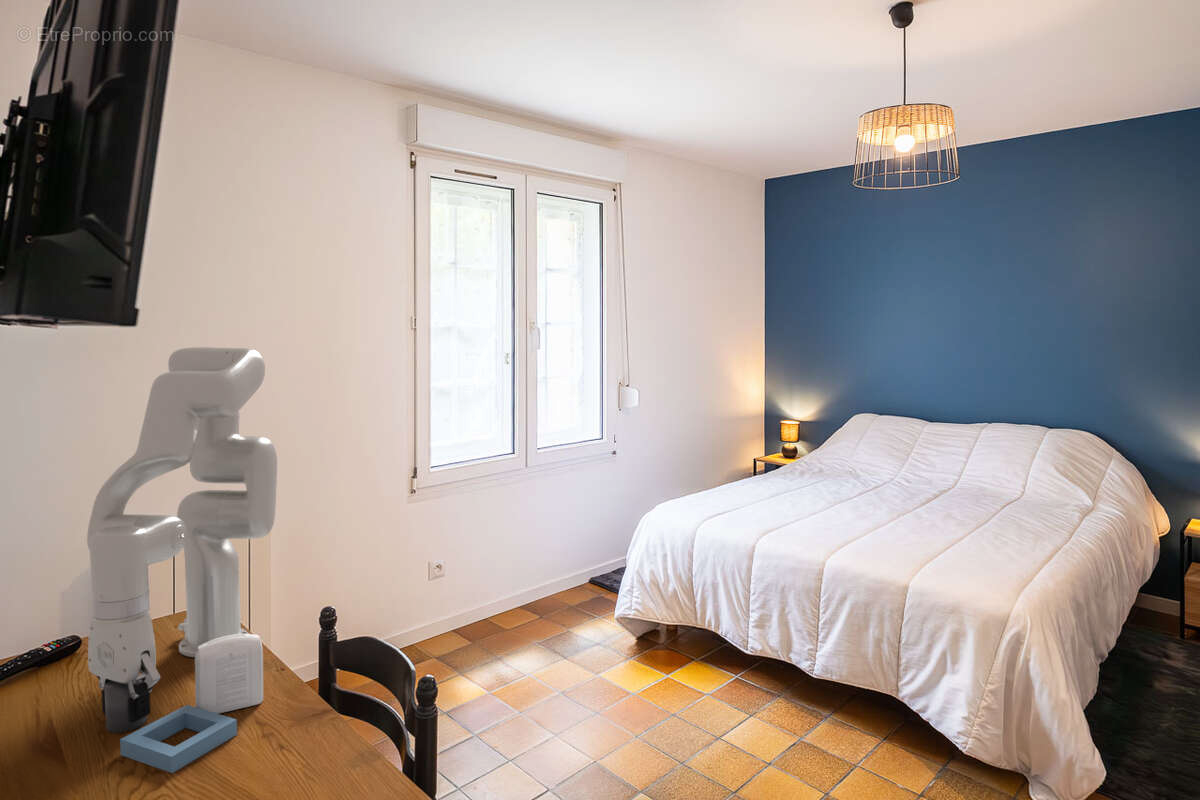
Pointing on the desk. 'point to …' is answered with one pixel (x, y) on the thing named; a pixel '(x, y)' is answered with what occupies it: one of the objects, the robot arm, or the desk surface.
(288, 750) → the desk surface
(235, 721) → the collar
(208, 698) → the photo printer
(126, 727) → the dark grey cylinder
